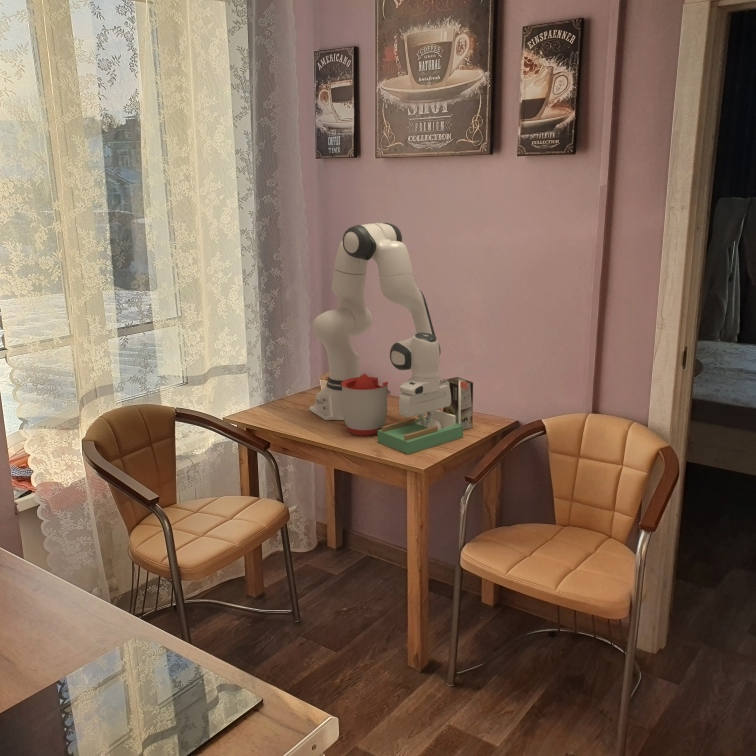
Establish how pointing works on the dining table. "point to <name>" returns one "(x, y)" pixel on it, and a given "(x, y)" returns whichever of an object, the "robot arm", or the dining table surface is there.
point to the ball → (435, 424)
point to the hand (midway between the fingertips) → (425, 424)
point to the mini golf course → (423, 431)
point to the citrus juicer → (364, 405)
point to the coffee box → (465, 402)
